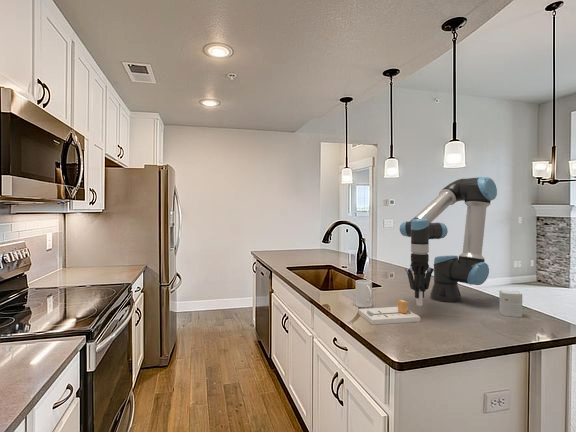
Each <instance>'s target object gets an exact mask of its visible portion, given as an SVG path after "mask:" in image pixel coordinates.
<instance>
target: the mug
mask: <svg viewBox="0 0 576 432" xmlns="http://www.w3.org/2000/svg"><path fill="white" fill-rule="evenodd" d="M372 300H373V281H372V280H369V279H368V280H365V279H358V280H355V303H354V305H355V307H356V306H357V307H359V308H372V307H373V301H372Z"/></svg>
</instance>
